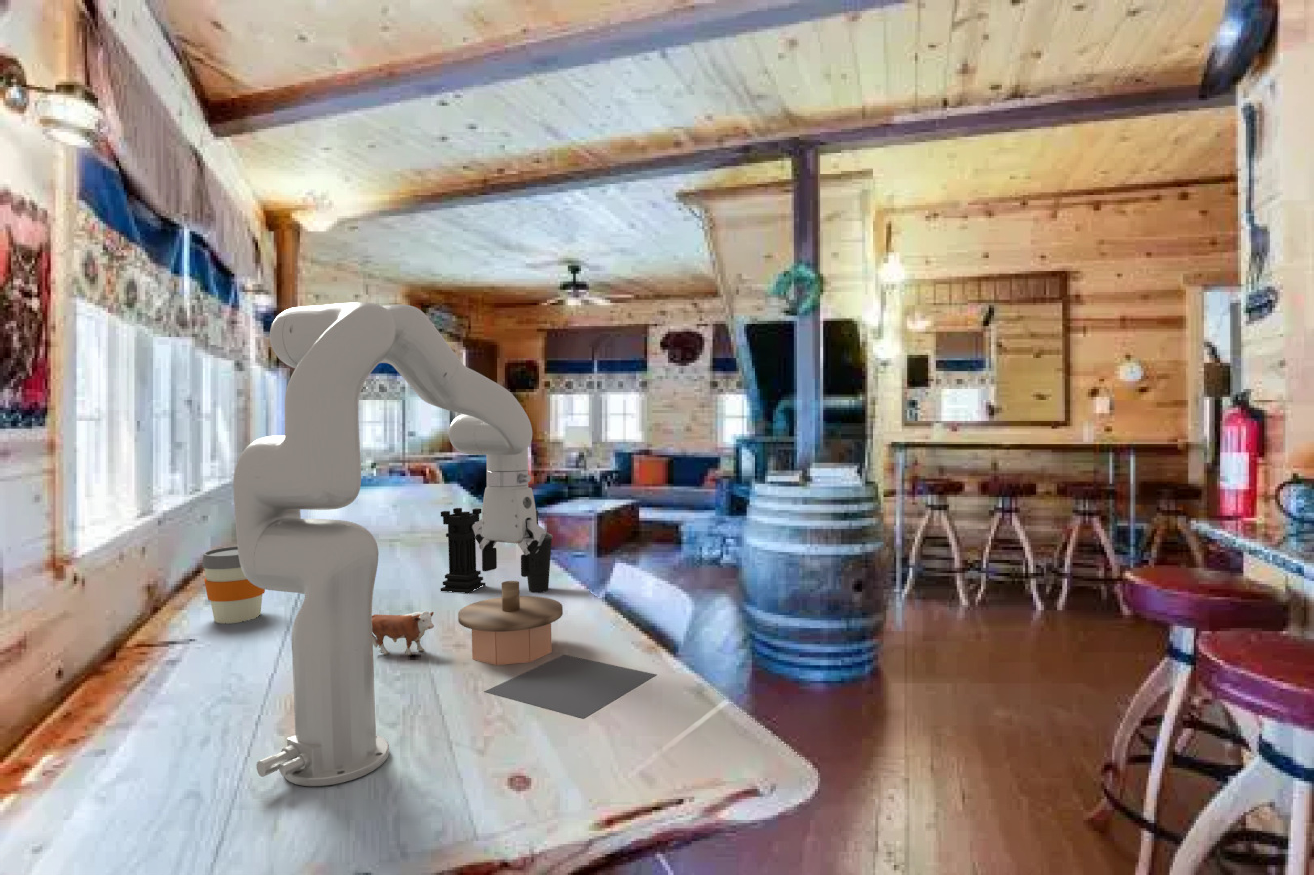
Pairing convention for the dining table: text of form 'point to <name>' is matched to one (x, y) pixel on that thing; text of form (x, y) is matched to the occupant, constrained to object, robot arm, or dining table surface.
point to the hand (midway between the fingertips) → (508, 572)
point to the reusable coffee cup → (230, 587)
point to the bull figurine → (401, 629)
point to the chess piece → (461, 551)
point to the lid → (510, 611)
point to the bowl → (511, 645)
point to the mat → (571, 685)
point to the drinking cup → (541, 565)
